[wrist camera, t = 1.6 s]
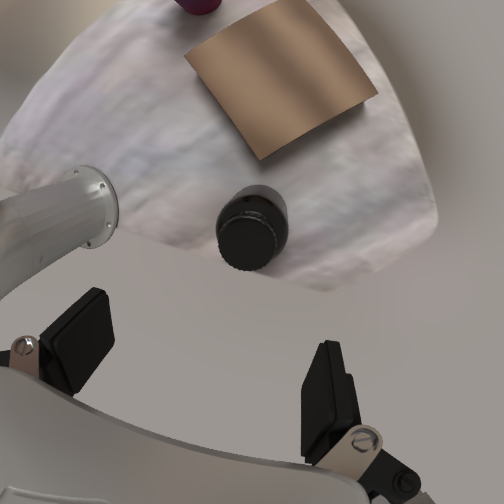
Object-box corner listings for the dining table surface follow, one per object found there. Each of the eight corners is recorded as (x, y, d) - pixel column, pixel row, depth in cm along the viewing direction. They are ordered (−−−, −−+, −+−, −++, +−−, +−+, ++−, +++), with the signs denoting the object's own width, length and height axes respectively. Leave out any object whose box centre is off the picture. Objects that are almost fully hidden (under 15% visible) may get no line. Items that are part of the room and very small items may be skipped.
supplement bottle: (269, 248, 35) (260, 297, 24) (221, 220, 34) (190, 257, 23) (298, 202, 32) (305, 232, 21) (248, 172, 32) (228, 187, 21)
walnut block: (264, 158, 31) (259, 160, 26) (200, 69, 28) (183, 56, 22) (363, 101, 27) (378, 93, 22) (296, 14, 24) (297, -8, 18)
